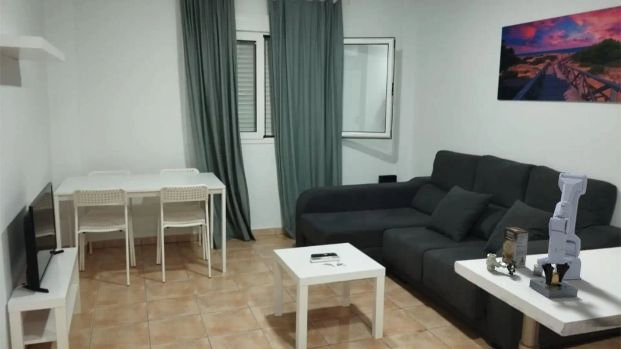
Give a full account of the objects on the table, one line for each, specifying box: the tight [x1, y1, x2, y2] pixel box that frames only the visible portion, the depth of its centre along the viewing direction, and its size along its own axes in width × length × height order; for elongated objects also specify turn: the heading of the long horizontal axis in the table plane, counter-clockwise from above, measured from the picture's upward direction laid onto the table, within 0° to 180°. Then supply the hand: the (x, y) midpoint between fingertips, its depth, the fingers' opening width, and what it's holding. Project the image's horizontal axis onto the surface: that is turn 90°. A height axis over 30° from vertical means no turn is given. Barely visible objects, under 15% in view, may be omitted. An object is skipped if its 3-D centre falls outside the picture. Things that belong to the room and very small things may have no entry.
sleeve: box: [532, 264, 544, 277], centre depth 215 cm, size 4×4×4 cm
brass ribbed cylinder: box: [547, 271, 559, 287], centre depth 196 cm, size 4×4×6 cm
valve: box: [485, 253, 518, 276], centre depth 218 cm, size 7×7×12 cm
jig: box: [528, 278, 579, 299], centre depth 196 cm, size 12×12×3 cm
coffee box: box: [501, 226, 529, 268], centre depth 228 cm, size 9×6×16 cm
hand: (553, 281), depth 196 cm, fingers closed on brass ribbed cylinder, 4 cm apart
